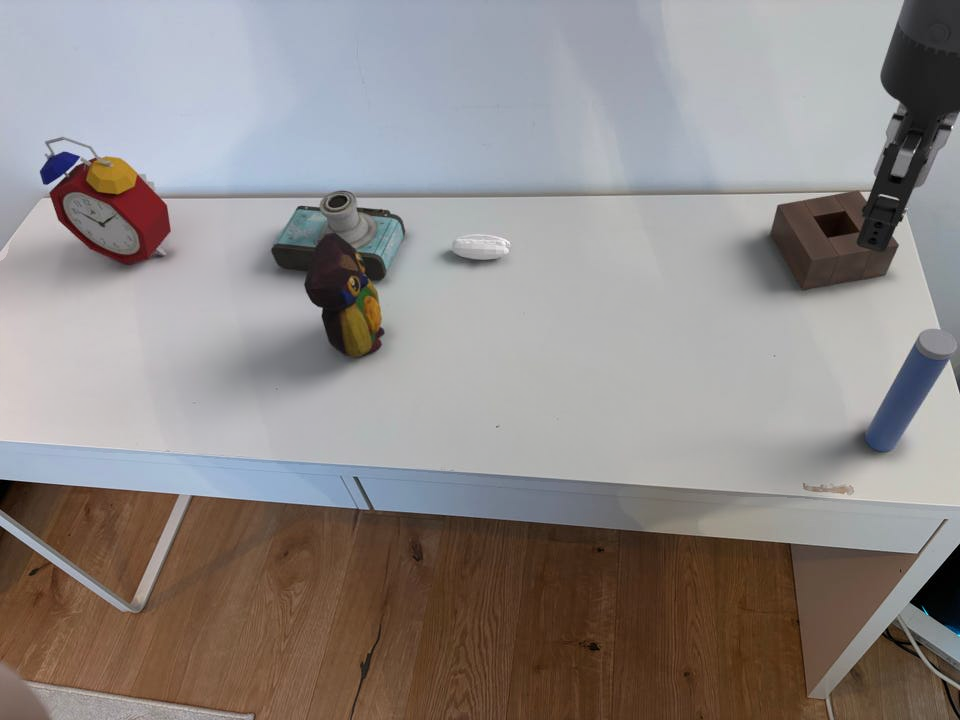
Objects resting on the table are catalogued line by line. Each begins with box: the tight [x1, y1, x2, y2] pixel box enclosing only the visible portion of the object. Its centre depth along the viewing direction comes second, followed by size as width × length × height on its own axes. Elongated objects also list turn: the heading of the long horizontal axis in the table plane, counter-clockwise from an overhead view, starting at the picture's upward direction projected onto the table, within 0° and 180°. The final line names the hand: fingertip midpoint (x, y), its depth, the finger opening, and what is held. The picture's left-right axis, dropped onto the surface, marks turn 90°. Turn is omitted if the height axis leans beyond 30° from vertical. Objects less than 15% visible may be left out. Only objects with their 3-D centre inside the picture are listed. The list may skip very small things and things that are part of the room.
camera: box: [270, 190, 406, 280], centre depth 100 cm, size 16×10×10 cm
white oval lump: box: [451, 233, 511, 261], centre depth 99 cm, size 3×8×3 cm, turn 79°
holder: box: [769, 190, 900, 290], centre depth 90 cm, size 10×10×5 cm
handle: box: [864, 328, 958, 453], centre depth 69 cm, size 3×3×16 cm
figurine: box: [303, 232, 385, 358], centre depth 86 cm, size 10×7×15 cm
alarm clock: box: [39, 136, 172, 265], centre depth 102 cm, size 15×9×20 cm, turn 72°
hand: (886, 214), depth 59 cm, fingers open, 8 cm apart
